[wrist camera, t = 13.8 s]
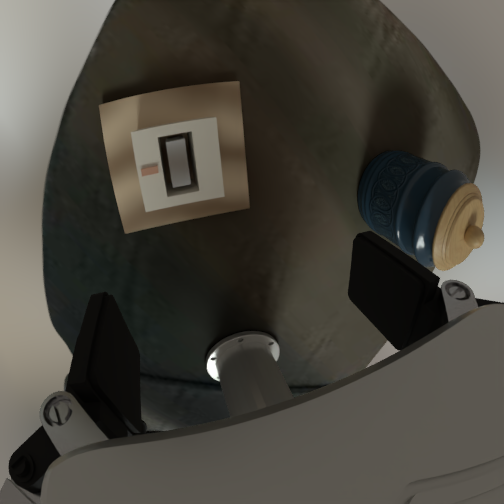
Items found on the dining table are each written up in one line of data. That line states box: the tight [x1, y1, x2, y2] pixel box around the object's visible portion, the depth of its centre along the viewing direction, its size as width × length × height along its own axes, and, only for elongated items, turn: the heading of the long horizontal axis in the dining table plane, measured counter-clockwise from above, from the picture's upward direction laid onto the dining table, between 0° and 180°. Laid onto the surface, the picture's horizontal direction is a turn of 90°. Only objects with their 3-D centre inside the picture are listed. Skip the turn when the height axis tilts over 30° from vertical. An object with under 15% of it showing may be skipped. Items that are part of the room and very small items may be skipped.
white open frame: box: [131, 117, 225, 212], centre depth 23 cm, size 7×7×5 cm
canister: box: [358, 151, 484, 271], centre depth 30 cm, size 13×13×18 cm
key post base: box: [99, 81, 250, 234], centre depth 24 cm, size 14×14×6 cm
